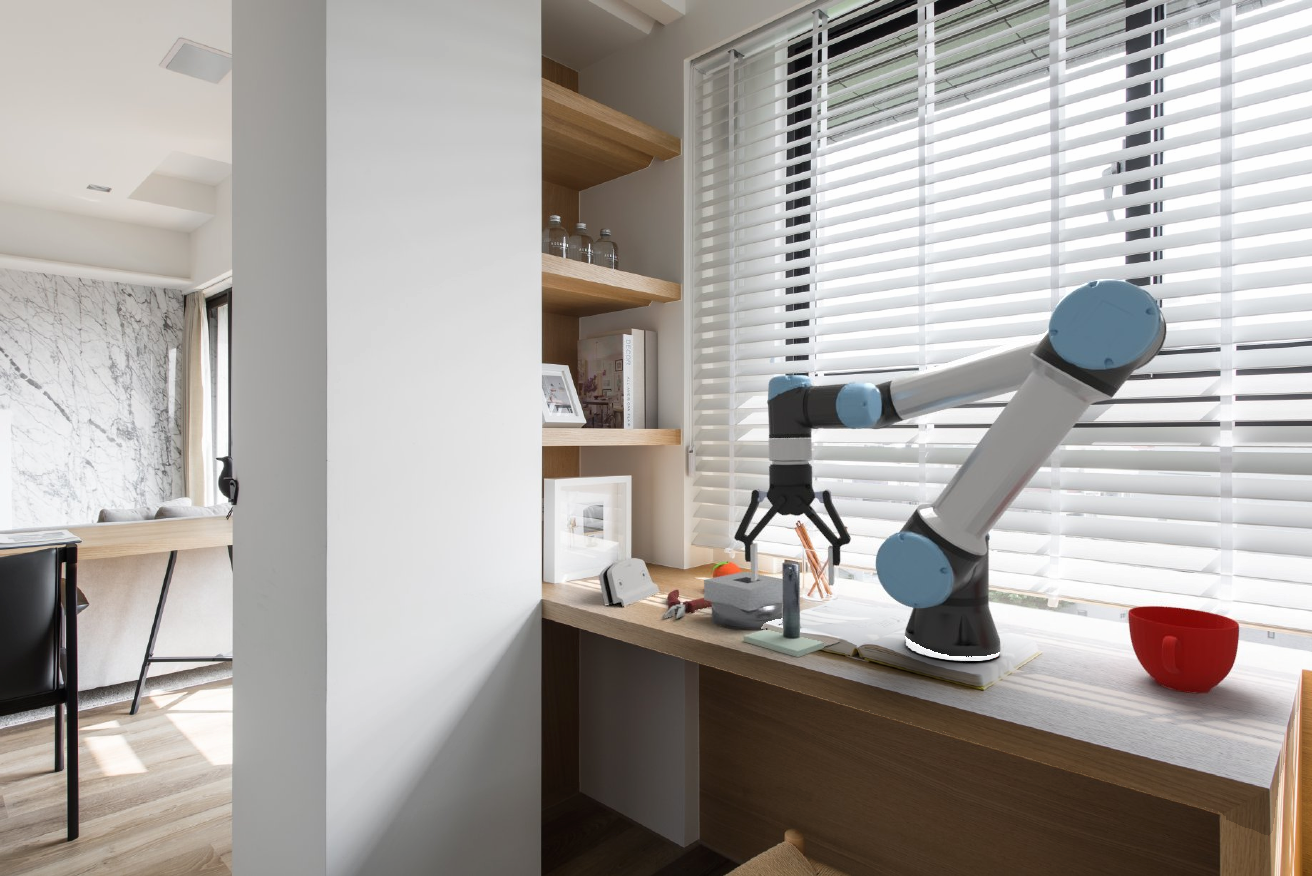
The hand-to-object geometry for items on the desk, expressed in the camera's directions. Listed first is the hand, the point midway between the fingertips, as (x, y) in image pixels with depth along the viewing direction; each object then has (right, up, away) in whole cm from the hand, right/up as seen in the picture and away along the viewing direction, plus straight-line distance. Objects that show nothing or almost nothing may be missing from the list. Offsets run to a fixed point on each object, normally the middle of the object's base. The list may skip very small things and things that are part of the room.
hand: (792, 582), depth 125 cm
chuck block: (-6, -11, +15) cm, 19 cm away
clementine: (-8, -11, +40) cm, 42 cm away
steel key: (0, -10, 0) cm, 10 cm away
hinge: (-31, -11, +34) cm, 47 cm away
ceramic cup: (+51, -11, -24) cm, 58 cm away
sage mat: (0, -11, 0) cm, 11 cm away
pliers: (-19, -11, +25) cm, 34 cm away
